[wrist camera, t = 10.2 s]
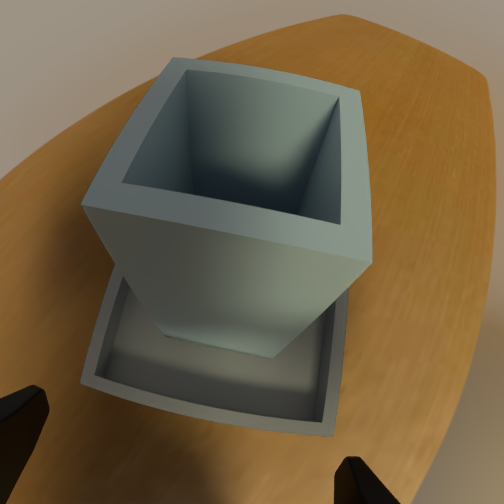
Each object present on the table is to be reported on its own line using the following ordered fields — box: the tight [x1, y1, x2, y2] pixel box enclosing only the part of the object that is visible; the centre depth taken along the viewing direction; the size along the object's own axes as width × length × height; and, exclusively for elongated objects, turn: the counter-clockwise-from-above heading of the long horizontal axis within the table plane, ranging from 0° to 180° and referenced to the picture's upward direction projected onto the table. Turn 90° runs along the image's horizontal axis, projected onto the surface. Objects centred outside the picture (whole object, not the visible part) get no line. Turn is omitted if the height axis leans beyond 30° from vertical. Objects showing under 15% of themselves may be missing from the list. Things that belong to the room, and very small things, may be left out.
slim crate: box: [81, 58, 372, 359], centre depth 13 cm, size 6×6×12 cm
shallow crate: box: [80, 264, 349, 437], centre depth 18 cm, size 13×13×2 cm
